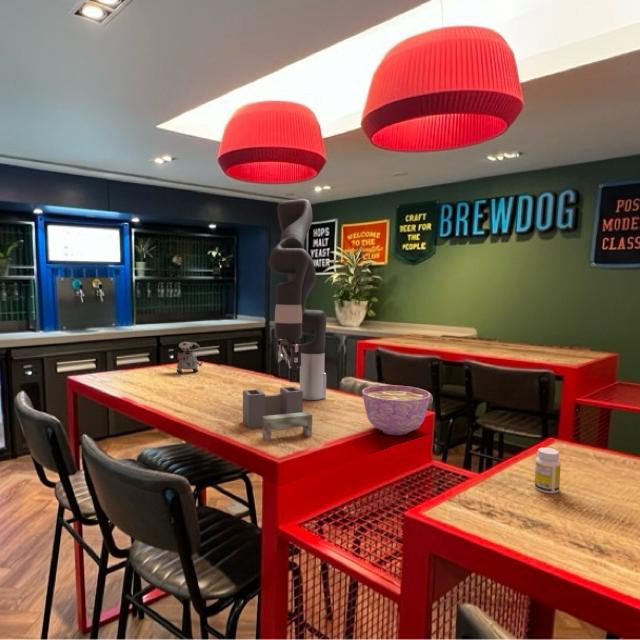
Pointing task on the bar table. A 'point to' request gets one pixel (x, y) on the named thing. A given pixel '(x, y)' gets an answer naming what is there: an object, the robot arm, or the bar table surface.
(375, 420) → the bowl of food
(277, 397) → the grey hollow block
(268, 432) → the rail
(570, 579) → the bar table surface
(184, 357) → the figurine
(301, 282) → the robot arm
